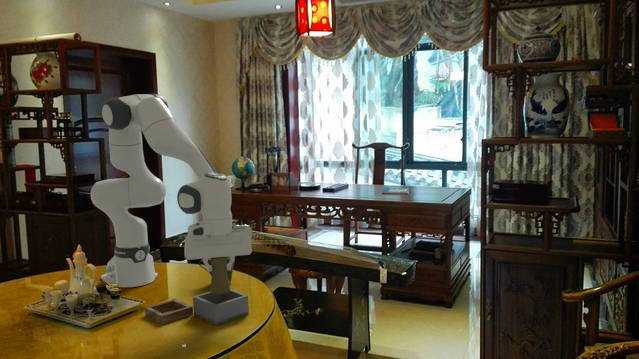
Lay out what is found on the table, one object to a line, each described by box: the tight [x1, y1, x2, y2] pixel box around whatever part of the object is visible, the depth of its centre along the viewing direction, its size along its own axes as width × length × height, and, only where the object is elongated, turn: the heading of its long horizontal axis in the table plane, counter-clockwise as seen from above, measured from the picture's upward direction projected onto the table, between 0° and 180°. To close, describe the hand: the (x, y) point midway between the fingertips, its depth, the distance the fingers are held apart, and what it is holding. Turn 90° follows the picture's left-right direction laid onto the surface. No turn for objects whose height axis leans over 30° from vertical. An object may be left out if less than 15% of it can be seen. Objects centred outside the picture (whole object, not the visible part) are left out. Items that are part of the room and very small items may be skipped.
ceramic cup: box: [198, 256, 236, 285], centre depth 189 cm, size 13×10×10 cm
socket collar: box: [144, 298, 194, 325], centre depth 160 cm, size 10×10×2 cm
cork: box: [209, 257, 231, 294], centre depth 158 cm, size 6×6×11 cm
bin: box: [192, 288, 250, 327], centre depth 160 cm, size 12×12×6 cm
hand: (219, 270), depth 158 cm, fingers closed on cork, 4 cm apart
